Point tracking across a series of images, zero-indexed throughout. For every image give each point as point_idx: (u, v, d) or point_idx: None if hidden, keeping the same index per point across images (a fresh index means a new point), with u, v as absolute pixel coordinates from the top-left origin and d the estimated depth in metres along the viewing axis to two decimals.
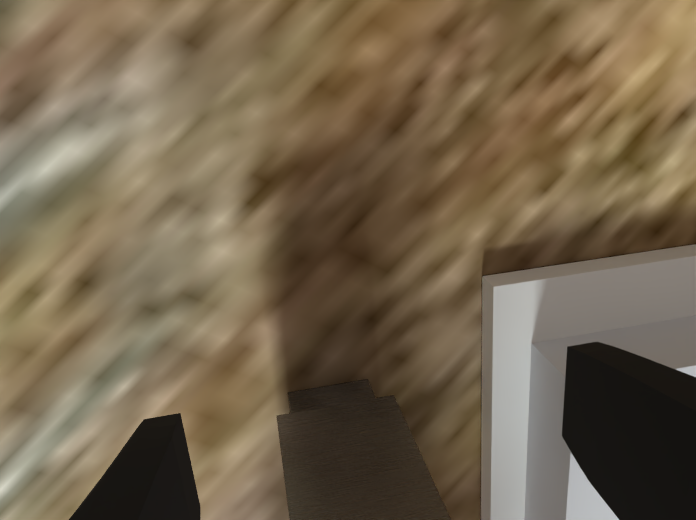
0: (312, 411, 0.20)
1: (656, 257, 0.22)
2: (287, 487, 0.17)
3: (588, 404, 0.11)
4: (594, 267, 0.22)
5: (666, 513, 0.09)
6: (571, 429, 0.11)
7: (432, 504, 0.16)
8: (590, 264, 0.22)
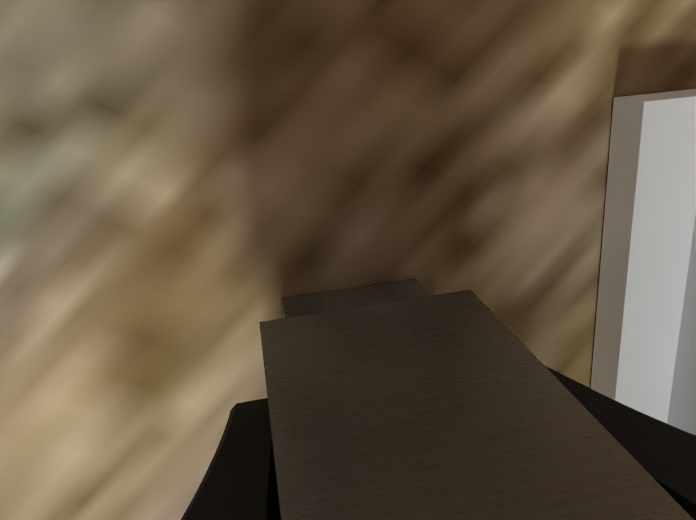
0: (325, 314, 0.11)
1: None
2: (276, 439, 0.08)
3: None
4: None
5: None
6: None
7: (619, 472, 0.07)
8: None
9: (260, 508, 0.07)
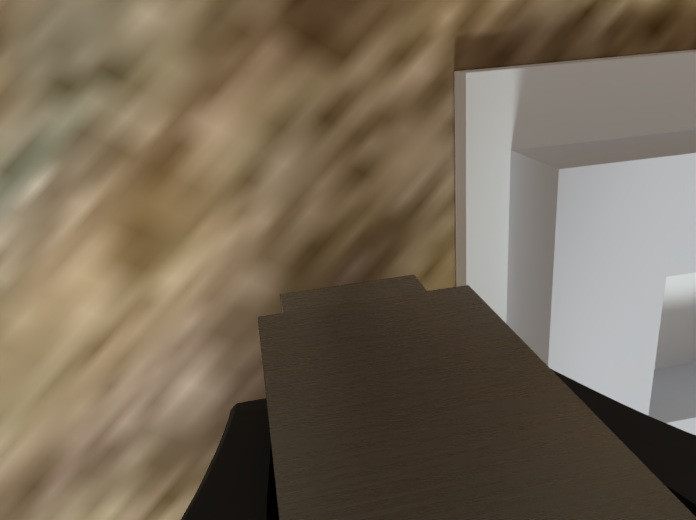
0: (323, 309, 0.11)
1: (653, 54, 0.19)
2: (273, 431, 0.08)
3: None
4: (583, 61, 0.19)
5: None
6: None
7: (614, 463, 0.07)
8: (578, 60, 0.19)
9: (260, 508, 0.07)
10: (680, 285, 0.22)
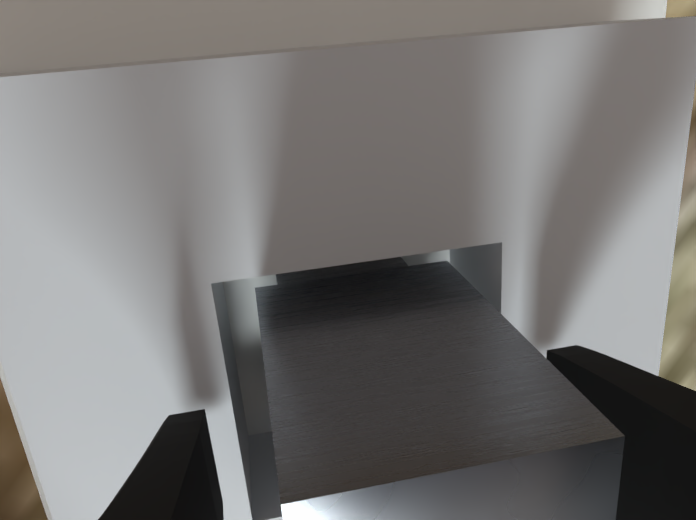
0: (314, 281, 0.12)
1: None
2: (269, 376, 0.09)
3: None
4: None
5: (642, 519, 0.09)
6: None
7: (560, 396, 0.08)
8: None
9: None
10: None
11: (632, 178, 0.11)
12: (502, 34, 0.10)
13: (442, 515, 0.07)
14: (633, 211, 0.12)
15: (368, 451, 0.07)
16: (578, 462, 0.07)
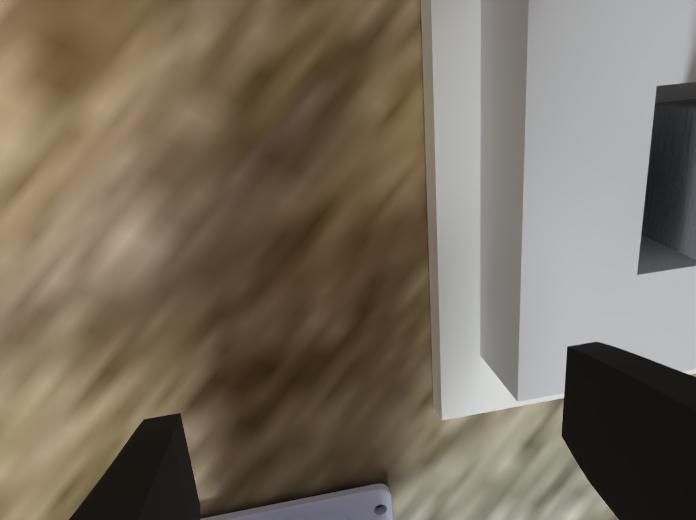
0: (693, 99, 0.17)
1: None
2: None
3: (588, 404, 0.11)
4: None
5: (666, 513, 0.09)
6: (571, 429, 0.11)
7: None
8: None
9: None
10: None
11: None
12: None
13: None
14: None
15: None
16: None
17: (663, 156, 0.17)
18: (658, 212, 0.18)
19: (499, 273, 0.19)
